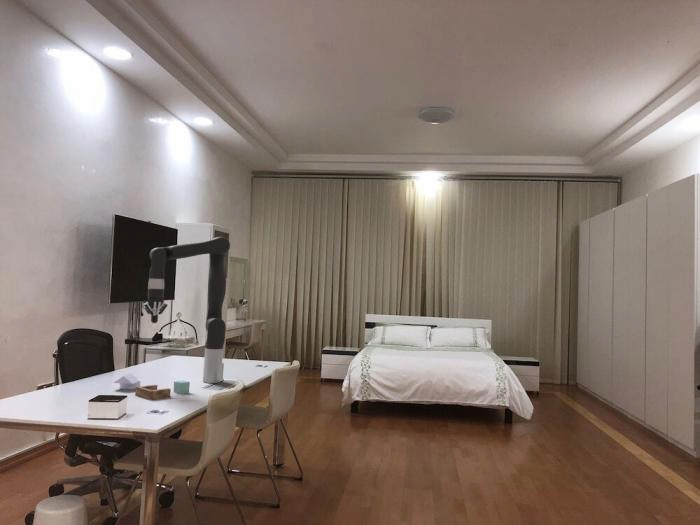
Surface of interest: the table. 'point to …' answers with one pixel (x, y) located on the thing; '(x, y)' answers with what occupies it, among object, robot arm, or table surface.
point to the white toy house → (128, 382)
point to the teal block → (181, 387)
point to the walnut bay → (152, 392)
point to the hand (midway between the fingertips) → (154, 322)
